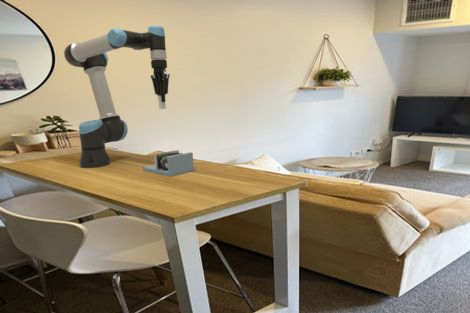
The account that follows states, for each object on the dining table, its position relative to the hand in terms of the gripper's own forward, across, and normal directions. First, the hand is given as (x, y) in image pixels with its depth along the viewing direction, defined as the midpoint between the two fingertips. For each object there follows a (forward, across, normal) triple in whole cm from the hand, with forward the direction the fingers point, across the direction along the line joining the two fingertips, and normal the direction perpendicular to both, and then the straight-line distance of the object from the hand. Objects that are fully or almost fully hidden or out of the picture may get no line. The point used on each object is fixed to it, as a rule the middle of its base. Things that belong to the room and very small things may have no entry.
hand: (162, 108), depth 169 cm
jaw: (+27, +12, -8) cm, 30 cm away
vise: (+28, +12, -8) cm, 32 cm away
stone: (+27, +17, -7) cm, 33 cm away
